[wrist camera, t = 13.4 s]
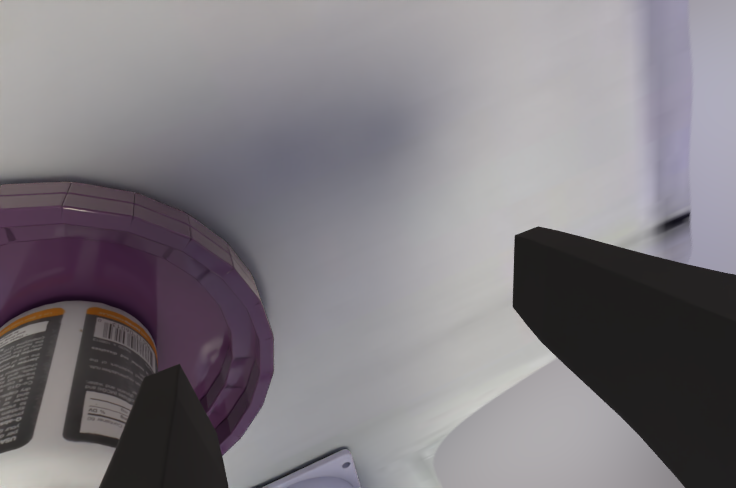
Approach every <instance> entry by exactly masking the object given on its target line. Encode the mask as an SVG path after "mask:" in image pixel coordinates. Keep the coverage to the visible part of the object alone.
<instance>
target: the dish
mask: <svg viewBox="0 0 736 488" xmlns="http://www.w3.org/2000/svg"><path fill="white" fill-rule="evenodd" d="M62 301H89V302H98V303H103V304H106V305H109V306H112V307H115V308H118V309H120V310H123V311H125V312H127V313H128V314H130V315H132V316H133V317H135V318H136V319H137V320H138V321H139V322H140V323H141V324H142V325H143V326H144V327H145V328H146V329H147V330H148V331H149V333H150V334H151V336H152V338H153V340H154V343H155V346H156V351H157V360H158V372H159V371H162V370H165V369H167V368H170V367H173V366H175V365H178V364H180V365H181V367H182V369H183V371H184V373H185V375H186V376H187V378H188V380H189V382H190V384H191V386H192V388H193V389H194V391H195V393H196V395H197V397H198V399H199V401H200V403H201V404H202V406H203V408H204V410H205V412H206V414H207V416H208V417H209V419H210V421H211V423H212V425H213V427H214V429H215V431H216V432H217V436H218V440H219V445H220V449H221V454H222V456H223V455H224V454H225V453H226V452H227V451H228V450H229V449H230V448H231V447H232V446H233V445H234V444H235V443H236V442H237V441H238V440H239V439H240V438H241V437H242V436H243V434H244V433H245V431H246V430H247V428H248V427H249V425H250V424H251V422H252V421H253V419H254V418H255V416H256V415H257V413H258V412H259V410H260V409H261V407H262V406H263V403H264V400H265V397H266V394H267V391H268V388H269V385H270V382H271V379H272V376H273V373H274V372H273V371H274V337H273V332H272V329H271V327H270V324H269V321H268V318H267V315H266V312H265V309H264V307H263V304H262V301H261V298H260V295H259V293H258V290H257V287H256V284H255V281H254V279H253V276H252V274H251V272H250V271H249V270H248V269H247V267H246V266H245V265H244V263H243V262H242V261H241V260H240V258H239V257H238V256H237V254H236V253H235V252H234V251H233V249H232V248H231V247H230V245H229V244H228V243H227V242H226V241H225V240H223V239H222V238H221V237H219V236H218V235H216V234H215V233H214V232H212V231H211V230H210V229H208V228H207V227H205V226H204V225H203V224H201V223H200V222H199V221H197V220H196V219H194V218H193V217H192V216H190V215H189V214H187V213H185V212H183V211H180V210H178V209H176V208H173V207H171V206H168V205H166V204H163V203H161V202H158V201H156V200H153V199H151V198H148V197H146V196H144V195H141V194H139V193H134V192H130V191H124V190H118V189H113V188H107V187H101V186H95V185H89V184H83V183H77V182H72V183H71V182H45V183H20V184H3V185H0V328H1V327H2V326H3V325H5V324H6V323H7V322H8V321H10V320H11V319H13V318H15V317H17V316H18V315H20V314H22V313H24V312H26V311H29V310H31V309H33V308H37V307H40V306H43V305H47V304H53V303H57V302H62Z"/></svg>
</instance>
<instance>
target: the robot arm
mask: <svg viewBox="0 0 736 488" xmlns="http://www.w3.org/2000/svg"><path fill="white" fill-rule="evenodd" d="M513 308H514V309H515V310H516V312H517V313H518V314H519V315H520V317H521V318H522V319H523V320H524V322H525V323H526V324H527V326H528V327H529V328H530V329H531V330H532V331H533V333H534V334H535V335H536V336H537V337H538V339H539V340H540V341H541V342H542V343H543V344H544V345H545V346H546V347H547V348H548V349H549V350H550V351H551V352H552V353H553V354H554V355H555V356H556V357H558V358H559V359H560V360H561V361H562V362H563V363H564V364H565V365H566V366H567V367H568V368H569V369H570V370H571V371H572V372H573V373H574V374H576V375H577V376H578V377H579V378H580V379H581V380H582V381H583V382H584V383H585V384H586V385H587V386H589V387H590V388H591V389H592V390H593V391H594V392H595V393H596V394H597V395H598V396H599V397H600V398H601V399H602V400H603V401H604V402H606V403H607V404H608V405H609V406H610V407H611V408H612V409H613V410H615V412H616V413H618V415H620V416H621V417H622V418H623V419H624V420H625V421H626V422H627V423H628V424H629V425H630V427H631V428H633V430H635V432H637V434H639V436H640V437H641V438H642V439H643V440H644V441H645V442H646V443H647V445H648V446H649V447H650V448H651V449H652V450H653V451H654V452H655V454H656V455H657V456H658V457H659V458H660V459H661V460H662V461H663V463H664V464H665V465H666V466H667V467H668V468H669V469H670V470H671V471H672V473H673V474H674V475H675V476H676V477H677V478H678V480H679V481H680V482H681V483H682V484H683V486H684V487H685V488H736V275H734V274H728V273H723V272H719V271H714V270H710V269H705V268H701V267H696V266H692V265H688V264H683V263H679V262H675V261H671V260H667V259H663V258H659V257H655V256H651V255H647V254H643V253H639V252H636V251H632V250H628V249H624V248H621V247H617V246H613V245H610V244H606V243H602V242H599V241H595V240H591V239H588V238H584V237H580V236H576V235H572V234H569V233H565V232H561V231H557V230H552V229H547V228H542V227H536V228H533V229H530V230H528V231H525V232H523V233H520V234H517V235H515V247H514V281H513ZM99 488H228V482H227V477H226V473H225V468H224V463H223V458H222V454H221V449H220V445H219V440H218V436H217V432H216V431H215V429H214V427H213V425H212V423H211V421H210V419H209V417H208V416H207V414H206V412H205V410H204V408H203V406H202V404H201V403H200V401H199V399H198V397H197V395H196V393H195V391H194V389H193V388H192V386H191V384H190V382H189V380H188V378H187V376H186V375H185V373H184V371H183V369H182V367H181V365H180V364H178V365H175V366H173V367H170V368H167V369H165V370H162V371H159V372H157V373H154V374H152V375H149V376H146V377H145V378H144V379H143V381H142V383H141V385H140V388H139V390H138V393H137V395H136V398H135V401H134V403H133V406H132V409H131V411H130V414H129V416H128V419H127V421H126V424H125V427H124V429H123V432H122V434H121V437H120V439H119V441H118V444H117V446H116V449H115V451H114V454H113V456H112V458H111V461H110V463H109V465H108V468H107V470H106V472H105V475H104V477H103V479H102V481H101V484H100V486H99ZM262 488H361V485H360V482H359V478H358V475H357V471H356V468H355V464H354V461H353V458H352V455H351V452H350V451H349V450H347V449H344V450H341V451H339V452H337V453H334V454H332V455H330V456H328V457H326V458H324V459H322V460H319V461H317V462H315V463H313V464H311V465H309V466H307V467H304V468H302V469H300V470H298V471H296V472H294V473H292V474H290V475H287V476H285V477H283V478H281V479H279V480H277V481H275V482H272V483H270V484H268V485H266V486H264V487H262Z"/></svg>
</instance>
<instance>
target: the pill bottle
mask: <svg viewBox="0 0 736 488" xmlns="http://www.w3.org/2000/svg"><path fill="white" fill-rule="evenodd" d="M157 372H158V360H157V351H156V346H155V343H154V340H153V338H152V336H151V334H150V333H149V331H148V330H147V329H146V328H145V327H144V326H143V325H142V324H141V323H140V322H139V321H138V320H137V319H136V318H135V317H133V316H132V315H130V314H128V313H127V312H125V311H123V310H120V309H118V308H115V307H112V306H109V305H106V304H103V303H98V302H89V301H62V302H57V303H53V304H47V305H43V306H40V307H37V308H33V309H31V310H29V311H26V312H24V313H22V314H20V315H18V316H17V317H15V318H13V319H11V320H10V321H8V322H7V323H6V324H5V325H3V326H2V327H1V328H0V488H99V486H100V484H101V481H102V479H103V477H104V475H105V472H106V470H107V468H108V465H109V463H110V461H111V458H112V456H113V454H114V451H115V449H116V446H117V444H118V441H119V439H120V437H121V434H122V432H123V429H124V427H125V424H126V421H127V419H128V416H129V414H130V411H131V409H132V406H133V403H134V401H135V398H136V395H137V393H138V390H139V388H140V385H141V383H142V381H143V379H144V378H145V377H146V376H149V375H152V374H154V373H157Z"/></svg>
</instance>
